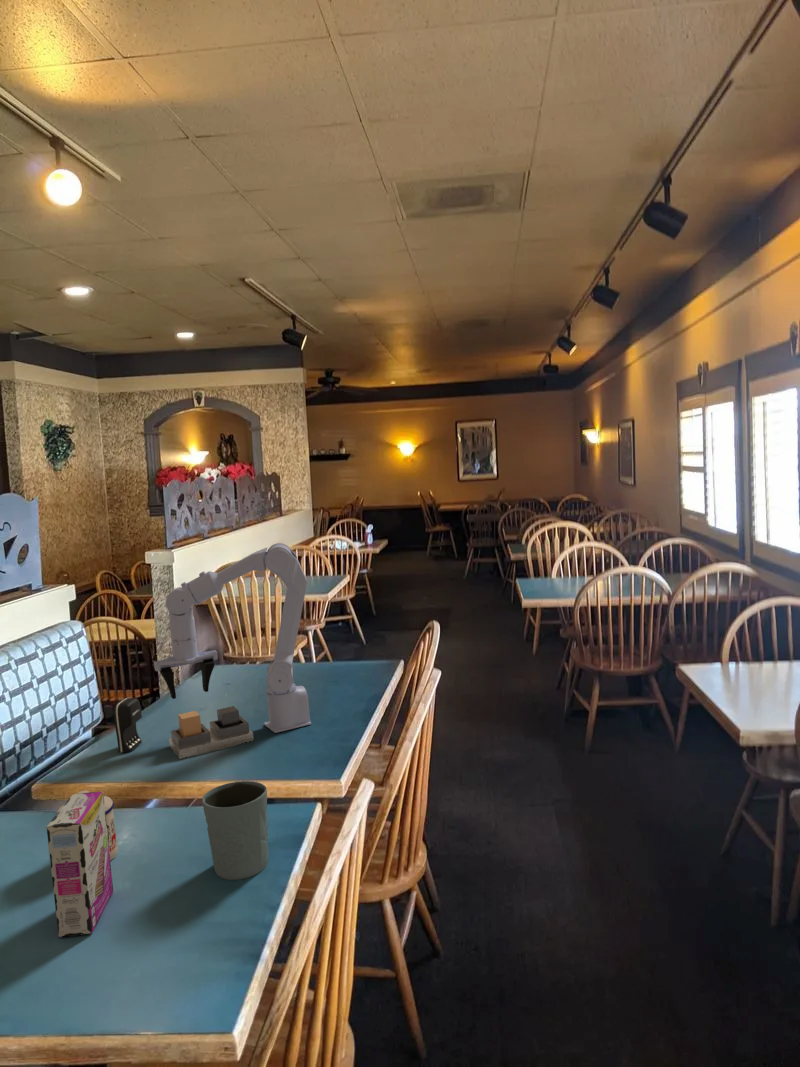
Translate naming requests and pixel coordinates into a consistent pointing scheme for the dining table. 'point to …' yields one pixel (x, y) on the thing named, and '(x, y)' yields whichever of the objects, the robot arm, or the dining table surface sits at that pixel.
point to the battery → (127, 724)
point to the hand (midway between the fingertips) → (189, 694)
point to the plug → (189, 724)
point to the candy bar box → (80, 863)
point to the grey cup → (237, 828)
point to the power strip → (213, 735)
